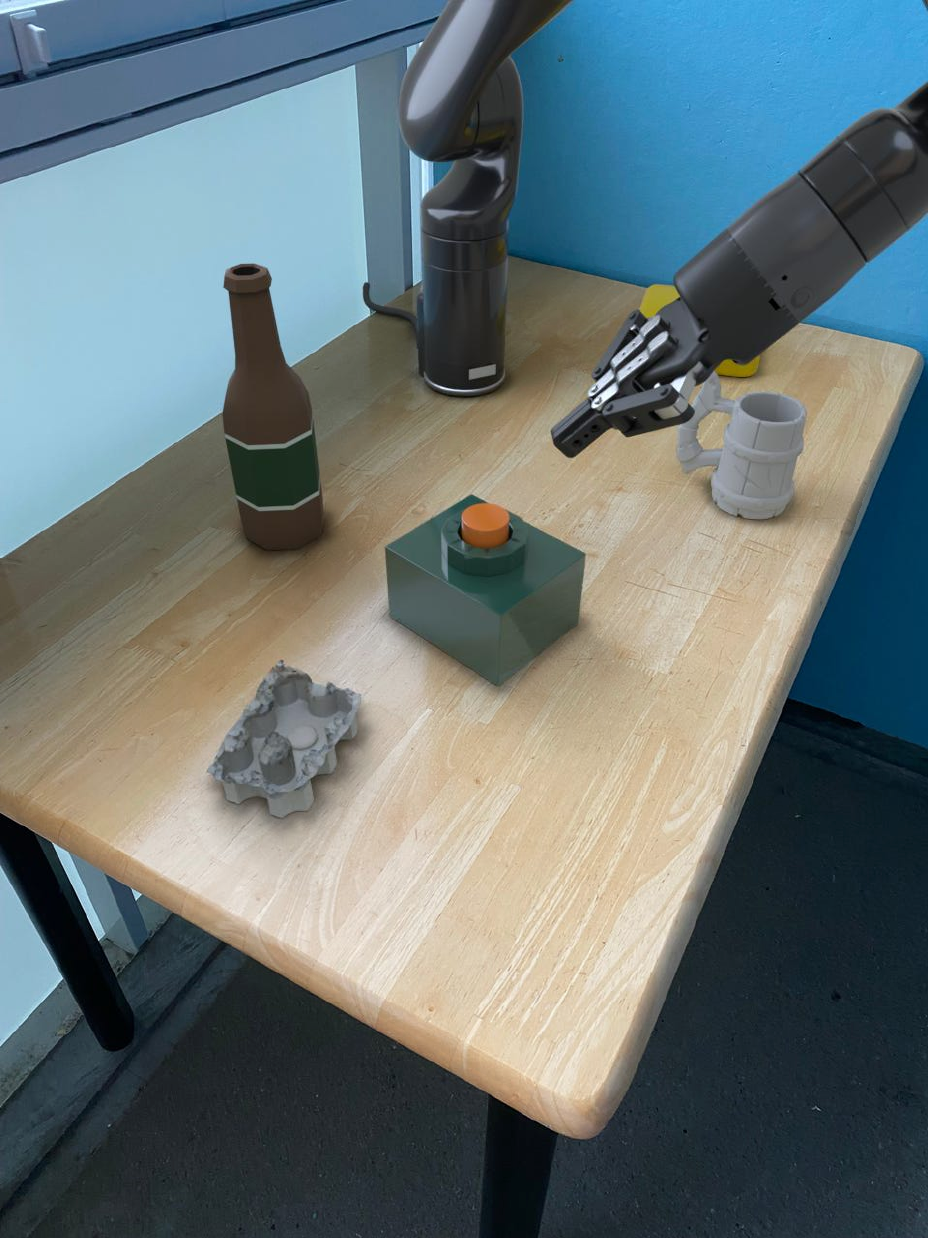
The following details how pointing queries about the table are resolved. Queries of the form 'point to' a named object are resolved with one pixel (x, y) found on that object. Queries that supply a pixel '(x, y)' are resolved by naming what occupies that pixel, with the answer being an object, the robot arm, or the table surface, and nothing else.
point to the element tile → (666, 294)
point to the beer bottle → (268, 424)
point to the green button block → (484, 591)
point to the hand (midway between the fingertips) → (559, 445)
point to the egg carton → (285, 740)
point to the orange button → (485, 525)
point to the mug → (747, 449)
